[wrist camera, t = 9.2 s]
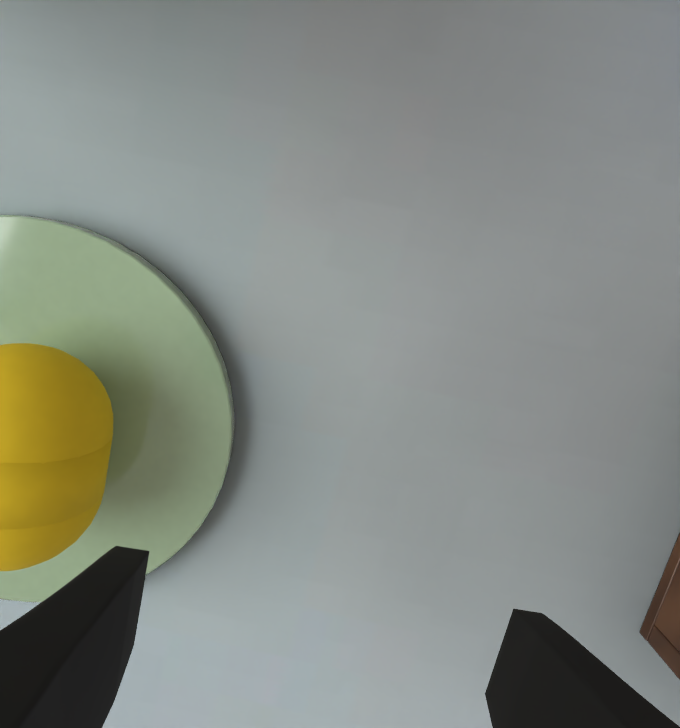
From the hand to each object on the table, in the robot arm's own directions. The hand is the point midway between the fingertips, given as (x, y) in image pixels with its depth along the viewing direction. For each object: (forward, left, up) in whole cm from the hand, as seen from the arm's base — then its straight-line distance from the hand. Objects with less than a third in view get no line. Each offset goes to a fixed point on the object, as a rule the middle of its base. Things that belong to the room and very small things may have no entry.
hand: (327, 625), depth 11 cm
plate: (-1, +9, -9) cm, 13 cm away
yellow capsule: (-1, +9, -8) cm, 12 cm away
